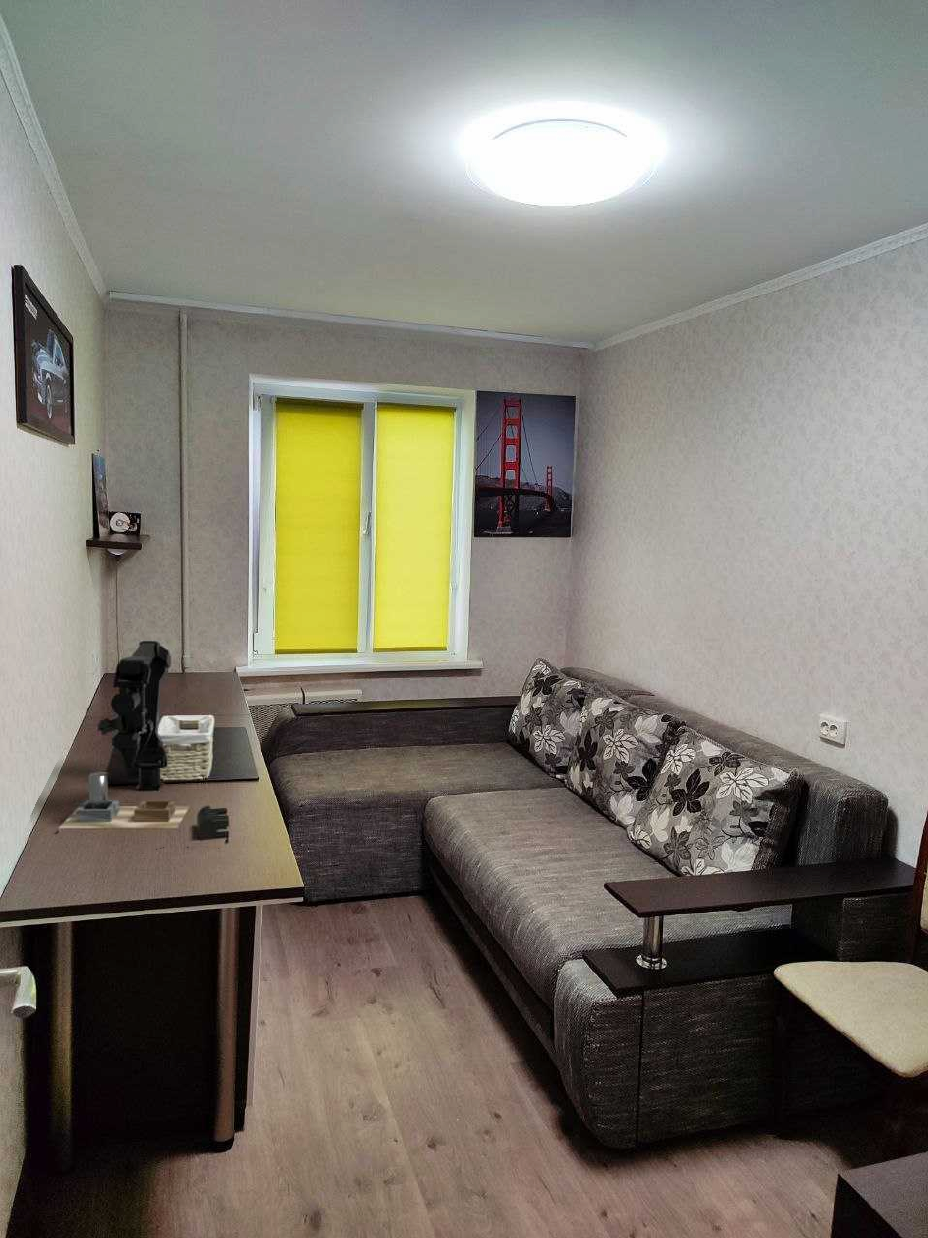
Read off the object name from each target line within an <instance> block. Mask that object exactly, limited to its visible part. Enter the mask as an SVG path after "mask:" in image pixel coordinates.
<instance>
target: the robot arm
mask: <svg viewBox="0 0 928 1238" xmlns="http://www.w3.org/2000/svg"><path fill="white" fill-rule="evenodd" d="M138 644H139V645H138V647H137V649H136V650H135V651H134V652H133V654H131V655H130V656H126V657H122V658H121V659H120V660H119V662H118V663H117V664H116V668H115V674H114V677H113V678H114V680H113V685H112V687H113V688H119V689H118V693H116V694H115V695H113V697H112V699H111V702H110V704H111V705H110V706H111V709H112V710H113V712H115V714H117V715H114V716H112V717H105V718H104V719H100V720H99V723H97V731H99V732H100V733H101V735H102V736H105V735H107V734H108V733H112V732H114V731H117V732H118V733H116V734H115V735H114V736H113V737H112V738H111V746H112V747H113V748H114V749H117V750H118V751H119V752H121V756H122V758H123V763H124V765H125V768H126V770H132V769H138V785H137V786H136V787H135V790H136V791H160V789H161V788H162V787H163V785H164V784H165V782H164V781H161V780H160V768H164V767H167V756H166V752H165V749H164V747H163V741H162V740H161V738H160V736H159V734H158V725H159V722H160V720H159V719H160V710H161V709H160V708H161V694H162V684H163V681H164V680H165V679H166V678H167V676H168V674H169V668H171V666H172V656H171V653H170V651H169V649H167V648H166V647H163V645H161V643H160V642H159V641H156V640H142V641H140V642H139V643H138ZM159 761H160V762H159Z"/></svg>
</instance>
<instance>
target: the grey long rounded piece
mask: <svg viewBox="0 0 928 1238" xmlns="http://www.w3.org/2000/svg"><path fill="white" fill-rule="evenodd" d="M108 775H109V774H108V772H105V771H95V772H91V773H88V800H89V809H107V808H108V800H109V797H108V796H109V790H108V789H109V787H108V786H109V785H108V784H109V783H108V782H109V781H108V780H109V779H108Z"/></svg>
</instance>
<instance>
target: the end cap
mask: <svg viewBox="0 0 928 1238" xmlns="http://www.w3.org/2000/svg"><path fill="white" fill-rule="evenodd" d="M196 823H197V832H198V837H199V838H200V840H201V841H208V840H209V841H210V840H212V839H222V838H223V839H224V838H225V841H224V844H229V842H230V841H229V837H230V833H229V830H227V829H228V827H230V817H229V815H228V808H227V807H221V808H220V807H218V808H211V806H210V805H205V806H203V807H202V808H200V809H199V811H198V812H197V816H196ZM218 830H223V831H218Z"/></svg>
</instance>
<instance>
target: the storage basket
mask: <svg viewBox="0 0 928 1238" xmlns="http://www.w3.org/2000/svg"><path fill="white" fill-rule="evenodd" d="M183 724H184V725H185V724H187V725H190V724H191V725H195V724H196V725H197V724H198V729H181V728H180V725H183ZM214 728H215V717H214V715H212V714H195V715H194V714H189V715H188V714H187V715H186V714H185V715H184V714H182V715H180V714H178V715H176V714H175V715H163V716H162V717H161V719H160V720H159V724H158V734H159V736H160V738H161V740H162V741H163V747H164V749H165V752H166V756H167V767H164V768H160V779H163V780H162V781H178V780H179V781H186V780H187V781H192V780H193V779H194V780H197V779H200V780H206V779H205V778H207V779H209V777H208V776H210V774H211V770H212V767H213V765H212V764H213V755H214V754H213V741H214V738H213V736H214V735H213V734H214ZM159 762H160V761H159ZM203 778H204V779H203Z"/></svg>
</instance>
